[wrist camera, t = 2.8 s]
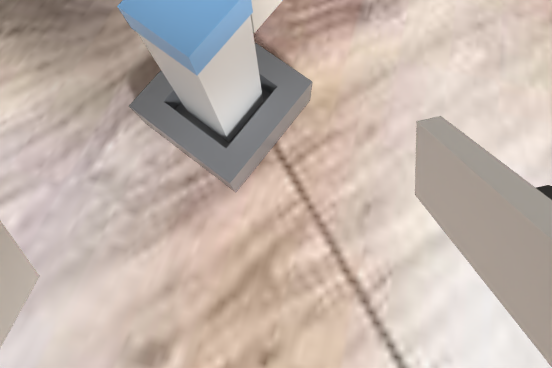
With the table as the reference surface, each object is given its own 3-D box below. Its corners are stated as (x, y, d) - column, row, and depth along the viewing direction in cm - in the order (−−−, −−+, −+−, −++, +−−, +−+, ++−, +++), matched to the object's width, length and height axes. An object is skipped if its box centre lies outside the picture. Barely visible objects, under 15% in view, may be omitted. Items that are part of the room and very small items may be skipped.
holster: (144, 122, 29) (128, 106, 26) (219, 37, 31) (212, 13, 28) (235, 192, 28) (229, 183, 25) (309, 100, 29) (312, 81, 26)
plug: (185, 111, 28) (117, 6, 17) (221, 69, 29) (178, -58, 18) (229, 144, 28) (188, 57, 16) (265, 100, 28) (249, -12, 17)
